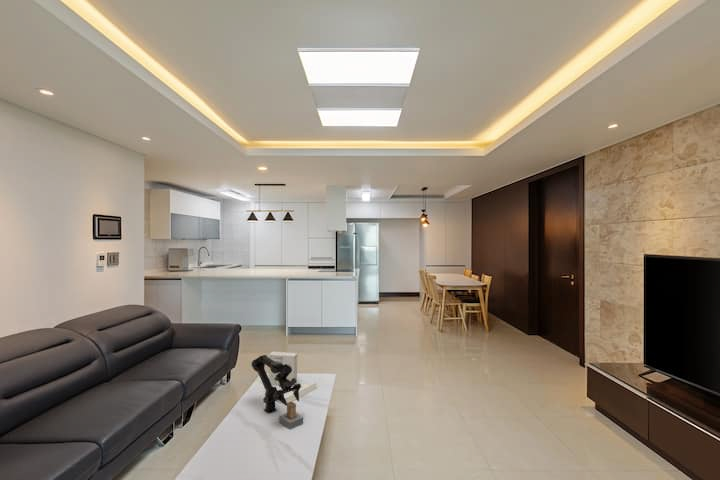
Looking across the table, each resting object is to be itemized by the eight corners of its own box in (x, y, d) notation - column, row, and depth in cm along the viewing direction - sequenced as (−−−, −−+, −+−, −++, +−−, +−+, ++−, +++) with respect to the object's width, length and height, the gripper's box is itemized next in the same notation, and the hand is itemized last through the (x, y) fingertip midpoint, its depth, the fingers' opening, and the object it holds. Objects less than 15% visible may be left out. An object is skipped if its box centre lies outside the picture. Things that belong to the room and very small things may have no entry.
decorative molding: (277, 405, 255) (287, 405, 250) (276, 398, 256) (285, 398, 251) (307, 389, 284) (317, 388, 279) (306, 383, 285) (315, 382, 280)
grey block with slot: (279, 422, 225) (279, 416, 225) (292, 417, 232) (292, 410, 233) (290, 429, 217) (290, 422, 217) (303, 423, 224) (303, 417, 224)
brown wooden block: (286, 422, 225) (286, 403, 225) (291, 420, 228) (291, 401, 228) (291, 425, 222) (291, 405, 222) (295, 423, 224) (295, 403, 224)
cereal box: (268, 384, 285) (269, 354, 286) (272, 381, 293) (272, 351, 293) (293, 386, 282) (294, 355, 282) (296, 383, 289) (297, 353, 290)
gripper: (276, 378, 221) (285, 401, 213) (299, 371, 235) (310, 392, 227) (269, 387, 226) (278, 410, 219) (292, 379, 240) (302, 401, 232)
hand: (292, 403), depth 224 cm, fingers open, 9 cm apart
